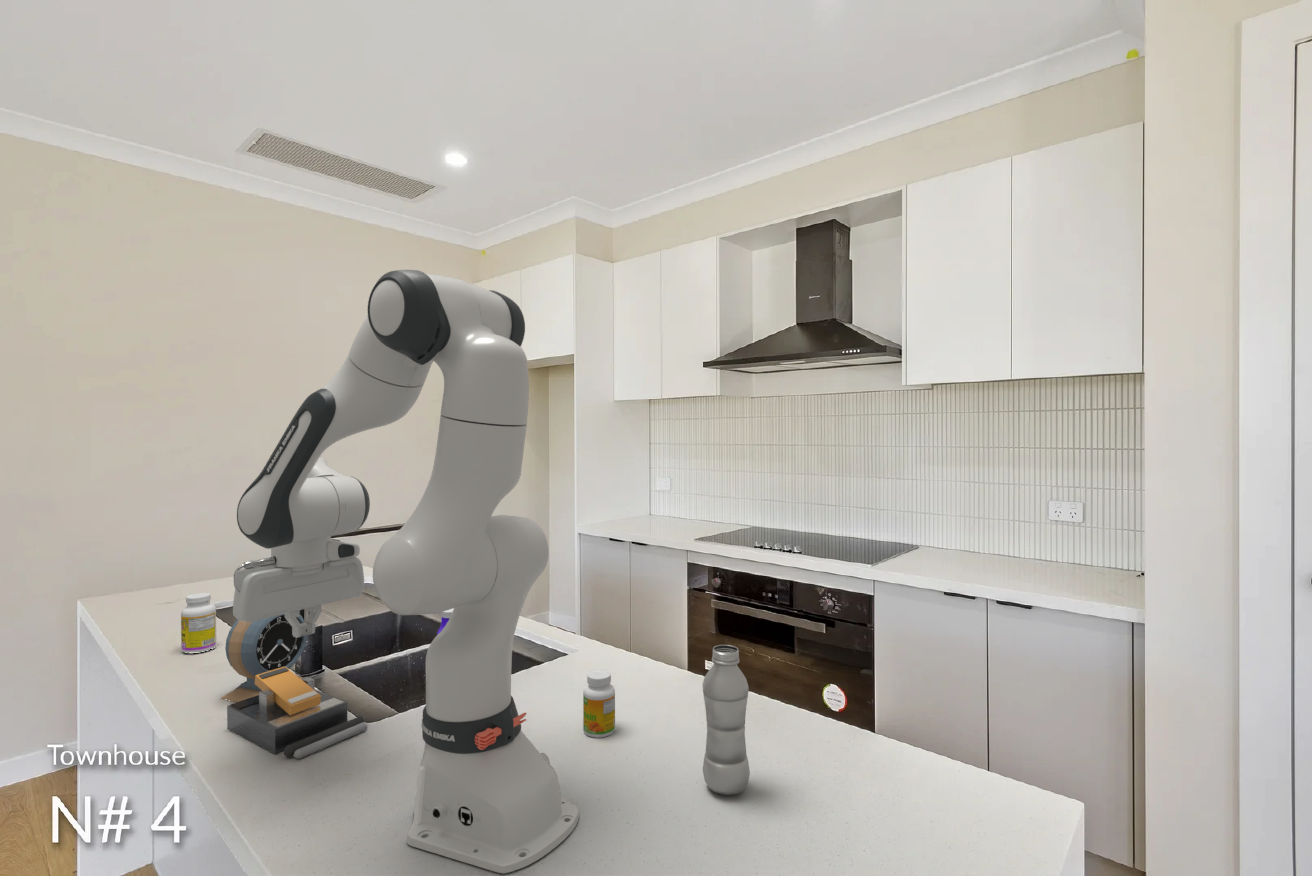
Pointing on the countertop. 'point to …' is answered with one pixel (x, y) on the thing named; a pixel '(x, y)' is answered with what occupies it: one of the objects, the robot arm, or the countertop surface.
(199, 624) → the supplement bottle
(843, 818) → the countertop surface
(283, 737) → the dark grey block
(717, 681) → the plastic bottle
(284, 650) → the alarm clock
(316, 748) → the grey rounded bar
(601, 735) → the supplement bottle
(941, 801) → the countertop surface
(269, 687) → the orange striped box
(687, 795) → the countertop surface
